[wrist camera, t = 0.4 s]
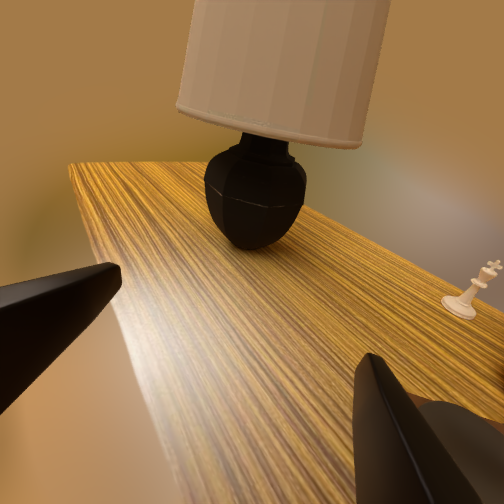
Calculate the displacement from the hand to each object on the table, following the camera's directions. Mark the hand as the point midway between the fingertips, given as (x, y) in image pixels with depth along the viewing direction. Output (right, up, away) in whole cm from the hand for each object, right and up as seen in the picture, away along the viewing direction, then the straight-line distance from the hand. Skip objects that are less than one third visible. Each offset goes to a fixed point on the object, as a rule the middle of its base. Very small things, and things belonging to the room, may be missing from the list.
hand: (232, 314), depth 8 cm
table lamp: (0, +4, +39) cm, 39 cm away
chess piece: (+35, -8, +33) cm, 49 cm away
